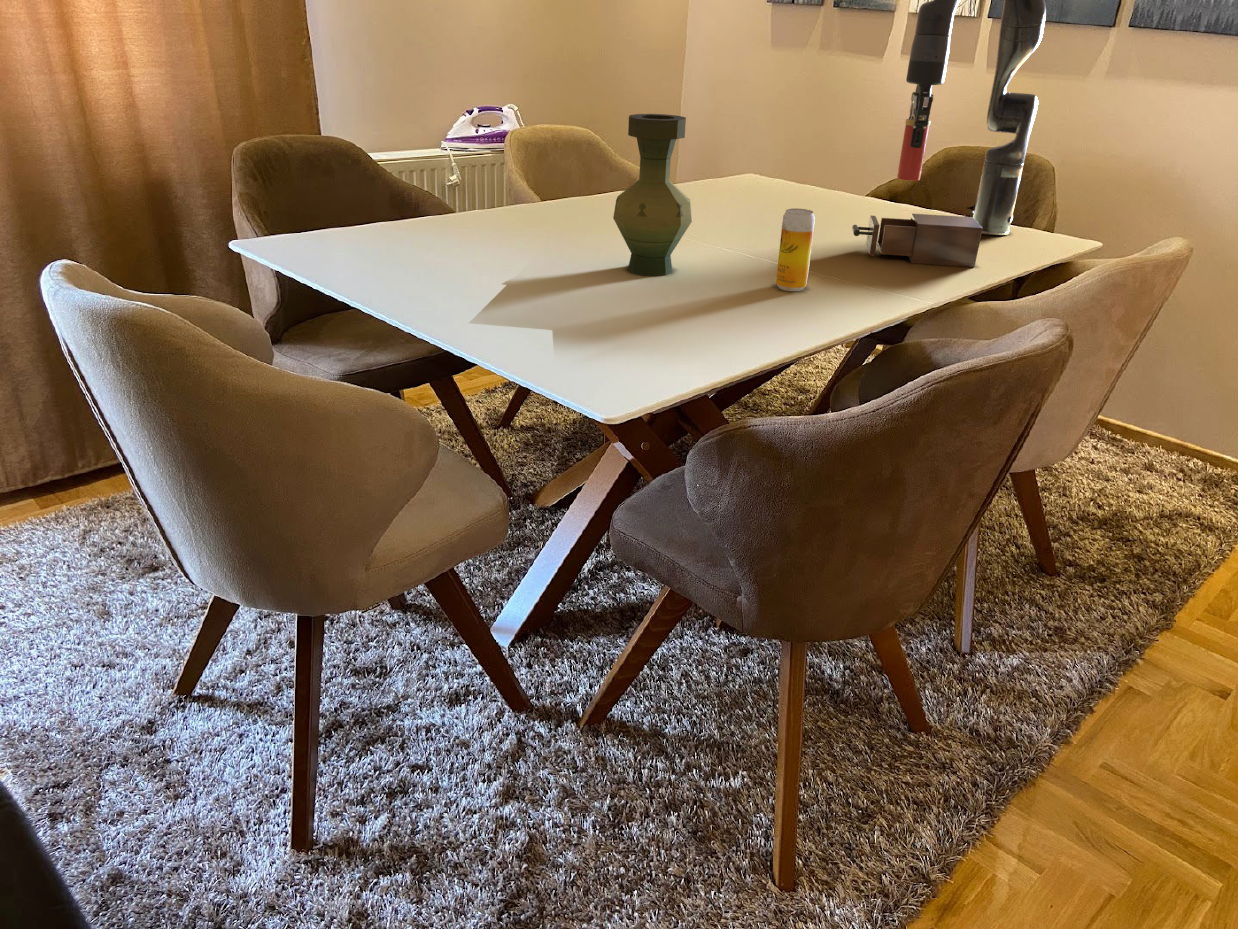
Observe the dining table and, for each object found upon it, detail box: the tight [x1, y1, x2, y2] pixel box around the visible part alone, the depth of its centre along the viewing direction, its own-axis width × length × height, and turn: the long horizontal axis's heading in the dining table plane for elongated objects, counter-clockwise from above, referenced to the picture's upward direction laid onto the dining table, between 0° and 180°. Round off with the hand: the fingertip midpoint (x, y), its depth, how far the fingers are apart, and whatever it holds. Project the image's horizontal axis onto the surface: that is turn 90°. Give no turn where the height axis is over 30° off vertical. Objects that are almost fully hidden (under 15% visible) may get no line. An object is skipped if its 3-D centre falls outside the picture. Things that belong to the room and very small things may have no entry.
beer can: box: [775, 207, 816, 292], centre depth 180 cm, size 6×6×15 cm
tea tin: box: [896, 118, 931, 182], centre depth 197 cm, size 5×5×12 cm
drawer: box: [851, 215, 917, 257], centre depth 209 cm, size 16×10×7 cm, turn 81°
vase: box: [612, 113, 693, 277], centre depth 186 cm, size 16×16×30 cm
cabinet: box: [907, 213, 983, 268], centre depth 207 cm, size 14×12×9 cm
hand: (914, 145), depth 197 cm, fingers closed on tea tin, 4 cm apart
